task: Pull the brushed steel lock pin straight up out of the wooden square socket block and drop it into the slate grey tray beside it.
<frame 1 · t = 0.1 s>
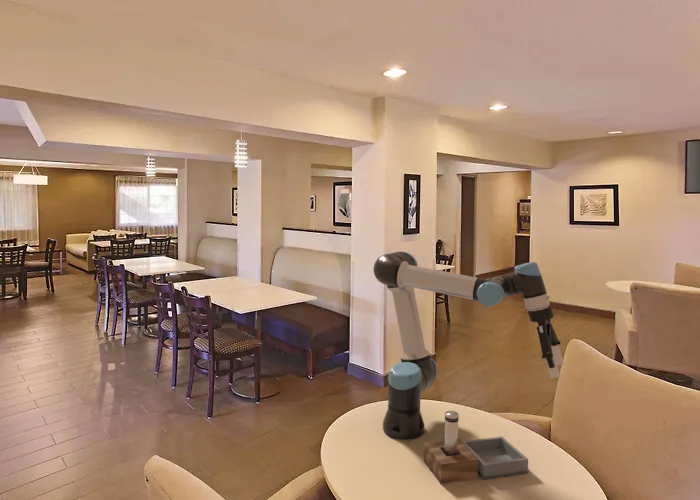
hand: (557, 370, 146), 28 cm above the table, tool tilted 20°, fingers open, 13 cm apart
wooden square socket block: (449, 469, 137), on the table
lock pin: (450, 441, 136), in the wooden square socket block
tray: (493, 463, 140), on the table
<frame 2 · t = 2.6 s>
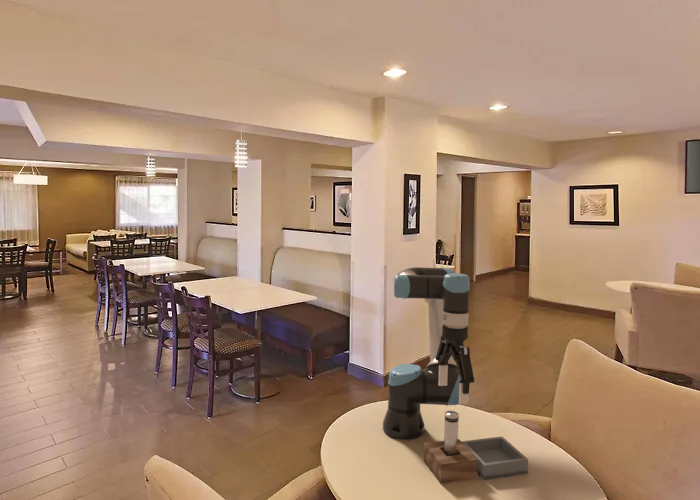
hand: (452, 394, 134), 24 cm above the table, tool pointing down, fingers open, 13 cm apart
nothing on the table moved.
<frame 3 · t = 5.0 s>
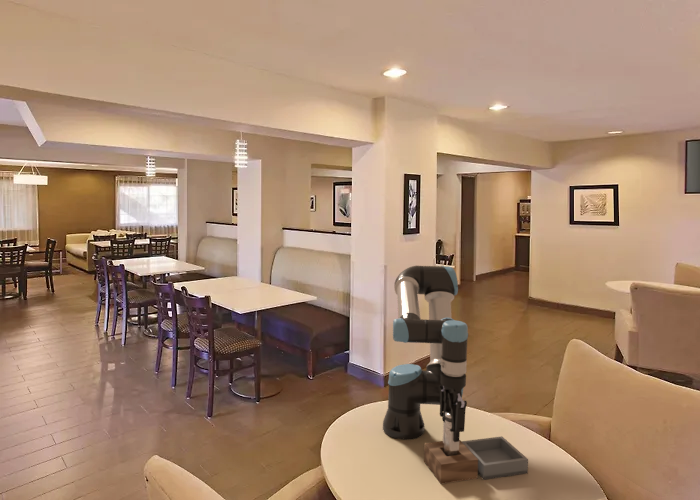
hand: (450, 445, 136), 8 cm above the table, tool pointing down, fingers closed on lock pin, 4 cm apart
lock pin: (450, 441, 136), in the wooden square socket block, touching gripper
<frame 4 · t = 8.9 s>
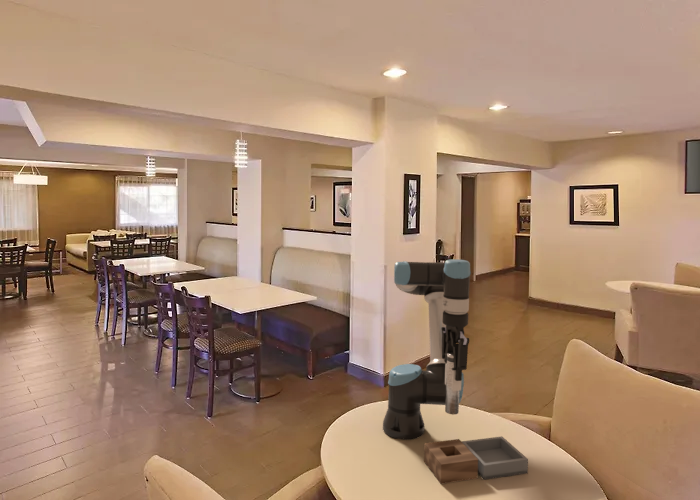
hand: (452, 386, 134), 26 cm above the table, tool pointing down, fingers closed on lock pin, 4 cm apart
lock pin: (452, 383, 134), point 28 cm above the table, touching gripper
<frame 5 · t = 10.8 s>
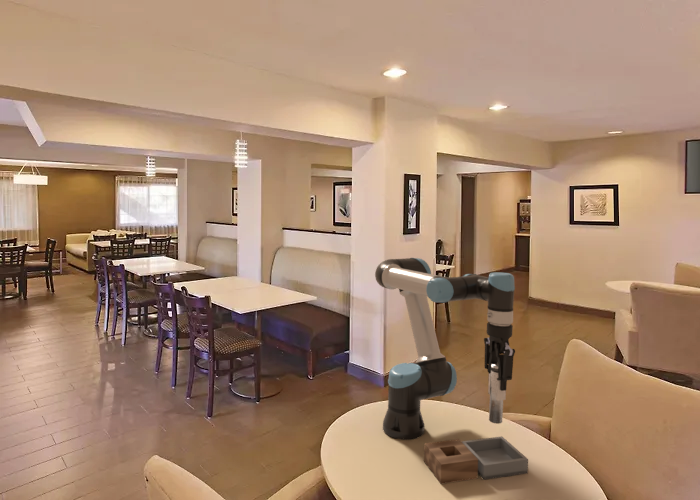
hand: (496, 396, 138), 22 cm above the table, tool pointing down, fingers closed on lock pin, 4 cm apart
lock pin: (496, 392, 138), point 23 cm above the table, touching gripper
when the fingers open (11 cm above the table, at t = 12.6 s): lock pin drops 2 cm, resting on tray.
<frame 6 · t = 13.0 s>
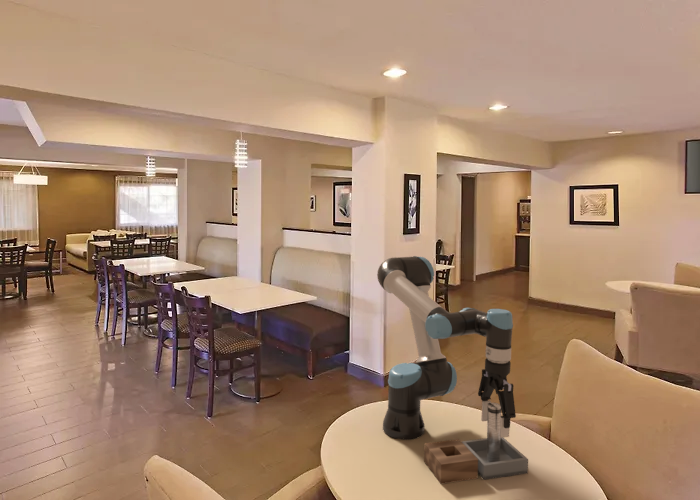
hand: (494, 428, 139), 12 cm above the table, tool pointing down, fingers open, 10 cm apart
lock pin: (493, 432, 139), in the tray, point 10 cm above the table
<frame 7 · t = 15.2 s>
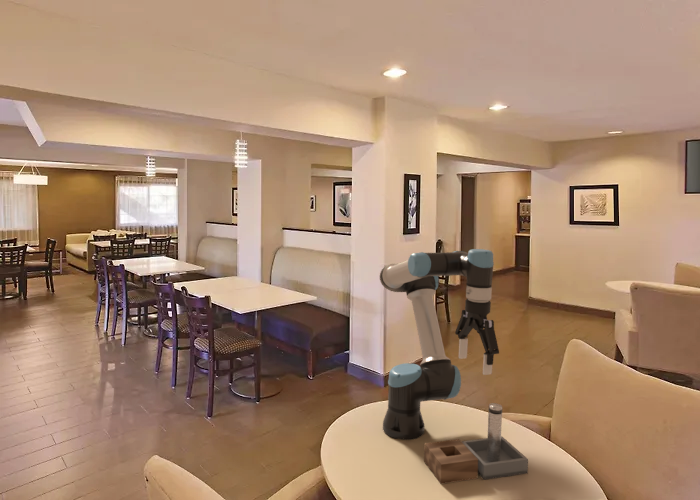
hand: (474, 365, 139), 31 cm above the table, tool pointing down, fingers open, 13 cm apart
nothing on the table moved.
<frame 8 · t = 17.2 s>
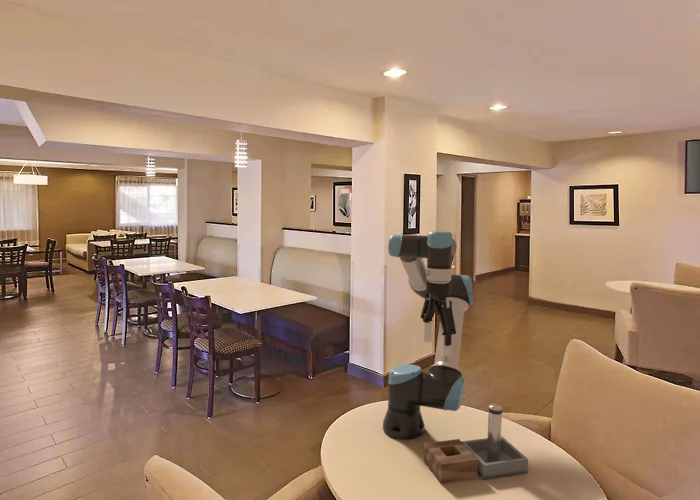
hand: (436, 348, 138), 37 cm above the table, tool pointing down, fingers open, 13 cm apart
nothing on the table moved.
at the end: lock pin inside the target area on the tray (0.0 cm from its centre), point 10.0 cm above the tray's base; lock pin moved 15.0 cm from its start; the gripper is holding nothing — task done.
